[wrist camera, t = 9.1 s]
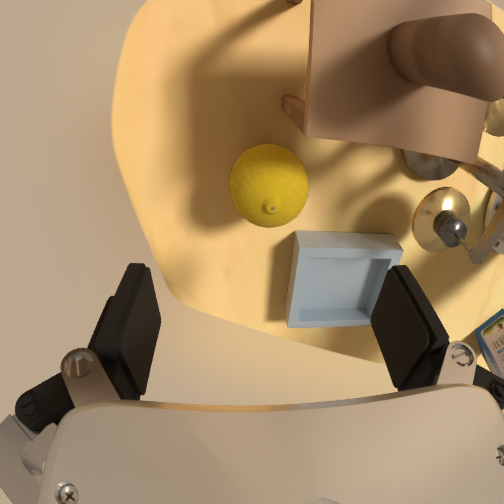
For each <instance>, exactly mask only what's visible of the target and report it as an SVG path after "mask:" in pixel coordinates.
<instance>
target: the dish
mask: <svg viewBox="0 0 504 504" xmlns="http://www.w3.org/2000/svg"><path fill="white" fill-rule="evenodd" d="M402 253H403V249H402V247H401V246H400V244H399V243H398V241H397V240H396V238H395V237H394V236H393V234H372V233H350V232H324V231H296V230H295V238H294V247H293V255H292V262H291V270H290V278H289V285H288V292H287V300H286V307H285V312H286V321H287V328H313V327H346V326H367V325H371V322H370V318H371V314H372V312H373V309H374V306H375V304H376V301H377V299H378V296H379V293H380V290H381V288H382V285H383V282H384V279H385V276H386V274H387V271H388V270H389V269H391V267H392V266H394V265H399V262H400V259H401V256H402Z"/></svg>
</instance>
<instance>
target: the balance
mask: <svg viewBox="0 0 504 504" xmlns="http://www.w3.org/2000/svg"><path fill="white" fill-rule="evenodd" d="M483 131H484V132H486V133H489V134H491V135H493V136H498V137H500V136H504V97H503V98H501V99H500V100H498V101H494V102H487V107H486V114H485V120H484V126H483ZM401 151H402V155H403V157H404V159H405V161H406V163H407V165H408V166H409V167H410V168H411V169H412V170H413V171H414V172H416V173H417V174H418V175H419V176H421V177H423V178H425V179H428V180H441V179H444V178H446V177H448V176H450V175H451V174H452V173H454V172H455V171H456V169H457V168H458V167H460V168H461V169H463V170H464V171H466V172H467V173H469V174H470V175H471V176H473V177H474V178H476V179H477V180H479V181H480V182H481V183H483V184H484V185H486V186H487V187H488V188H490V189H491V190H492V191H494V192H495V193H496V194H498V195H499V196H500V197H501V198H503V201H502V203H501V205H500V206H499V208H498V210H497V211H496V213H495V215H494V216H493V218H492V220H491V221H490V223H489V224H488V226H487V228H486V229H485V231H484V232H483V234H482V235H481V237H480V238H479V240H478V241H477V243H476V244H475V246H474V247H473V249H471V248H470V247H469V246H468V245H467V244H466V243H465V242H464V241H463V240H464V238H465V236H466V233H467V226H468V223H469V219H470V206H469V202H468V200H467V199H466V197H465V196H464V195H463V194H462V193H461V192H460V191H458V190H457V189H455V188H452V187H441V188H438V189H435V190H434V191H432V192H430V193H429V194H428V195H427V196H425V197H424V199H423V200H422V201H421V202H420V204H419V205H418V207H417V209H416V211H415V213H414V216H413V220H412V232H413V236H414V238H415V240H416V241H417V242H418V244H419V245H420V246H421V247H422V248H423V249H425V250H427V251H430V252H439V251H443V250H445V249H448V248H449V247H456V246H458V245H459V244H460V243H461V244H462V245H463V246H464V247H465V248H466V249H467V251H468V252H469V254H468V256H469V258H470V260H471V262H472V263H476V264H481V263H482V261H483V260H484V259H485V257H486V256H487V255H488V253H489V252H490V251H491V249H492V248H493V246H494V245H495V244H496V242H497V241H498V239H499V238H500V236H501V235H502V233H503V232H504V172H503V171H501V170H500V169H498V168H497V167H495V166H494V165H492V164H490V163H489V162H487V161H485V160H484V159H482V158H480V157H479V156H477V159H476V164H475V165H474V164H470V163H466V162H462V161H458V160H454V159H449V158H445V157H440V156H436V155H431V154H426V153H421V152H416V151H410V150H404V149H401Z"/></svg>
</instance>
